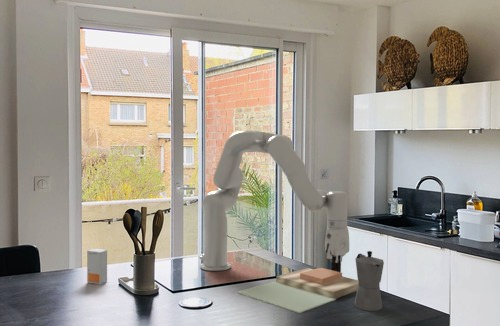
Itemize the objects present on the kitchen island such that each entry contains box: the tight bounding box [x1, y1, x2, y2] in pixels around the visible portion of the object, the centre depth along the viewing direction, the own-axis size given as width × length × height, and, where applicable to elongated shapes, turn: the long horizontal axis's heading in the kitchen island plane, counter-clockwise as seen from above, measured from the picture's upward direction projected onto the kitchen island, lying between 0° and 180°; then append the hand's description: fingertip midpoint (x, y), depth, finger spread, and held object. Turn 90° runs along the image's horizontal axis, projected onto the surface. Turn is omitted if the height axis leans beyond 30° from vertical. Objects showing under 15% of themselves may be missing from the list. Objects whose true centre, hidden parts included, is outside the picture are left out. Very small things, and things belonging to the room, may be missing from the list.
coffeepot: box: [354, 250, 385, 312], centre depth 169 cm, size 15×9×18 cm, turn 13°
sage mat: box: [236, 280, 337, 314], centre depth 177 cm, size 28×19×1 cm
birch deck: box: [275, 267, 358, 300], centre depth 190 cm, size 26×18×2 cm
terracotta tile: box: [300, 267, 343, 284], centre depth 191 cm, size 10×12×2 cm
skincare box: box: [86, 248, 108, 286], centre depth 191 cm, size 6×4×12 cm
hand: (336, 272), depth 197 cm, fingers closed
